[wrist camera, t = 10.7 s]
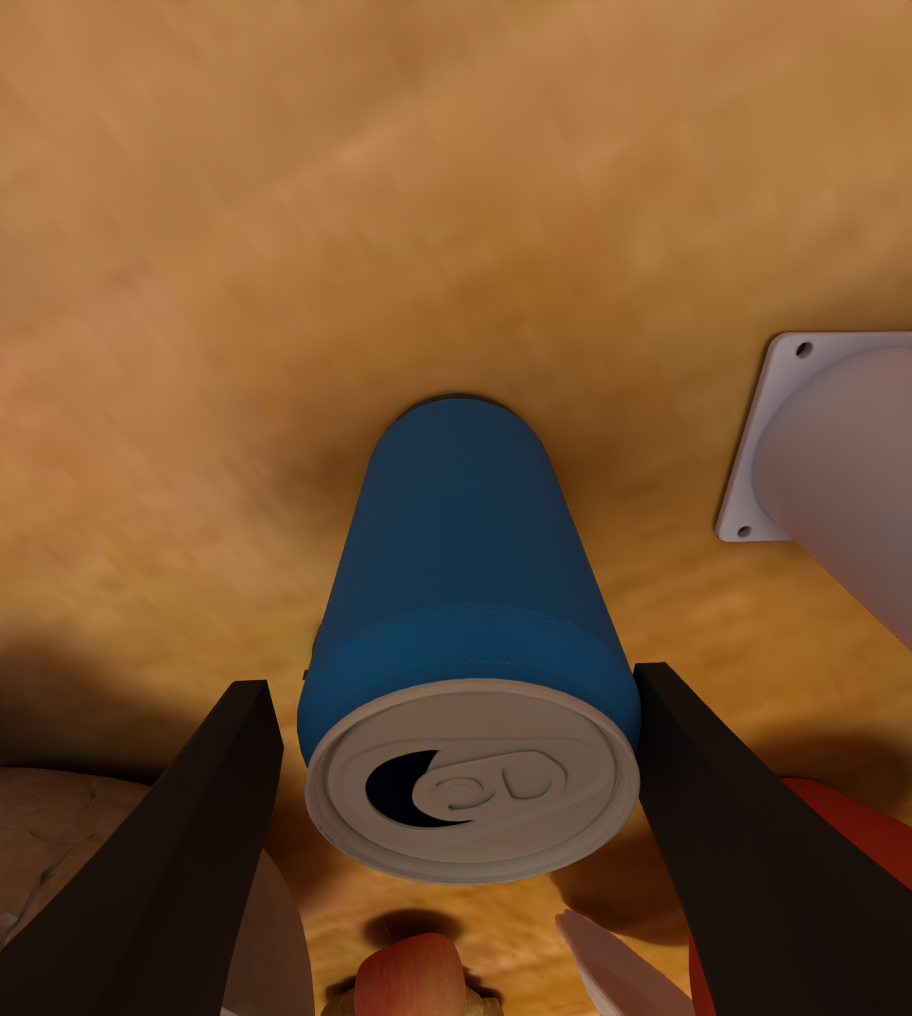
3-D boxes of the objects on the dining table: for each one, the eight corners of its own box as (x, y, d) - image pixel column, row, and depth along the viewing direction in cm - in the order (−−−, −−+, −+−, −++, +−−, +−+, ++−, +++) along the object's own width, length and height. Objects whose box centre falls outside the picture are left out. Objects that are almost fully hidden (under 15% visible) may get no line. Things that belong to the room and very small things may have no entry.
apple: (503, 1052, 33) (471, 901, 39) (420, 1076, 29) (398, 902, 35) (422, 1083, 36) (404, 937, 42) (335, 1109, 31) (328, 941, 37)
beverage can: (341, 421, 18) (200, 721, 8) (526, 366, 17) (644, 622, 7) (404, 566, 21) (363, 917, 11) (562, 527, 20) (681, 866, 10)
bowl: (274, 649, 23) (181, 911, 15) (383, 929, 37) (368, 1148, 29) (-321, 711, 24) (-743, 999, 15) (5, 964, 38) (-121, 1189, 29)
